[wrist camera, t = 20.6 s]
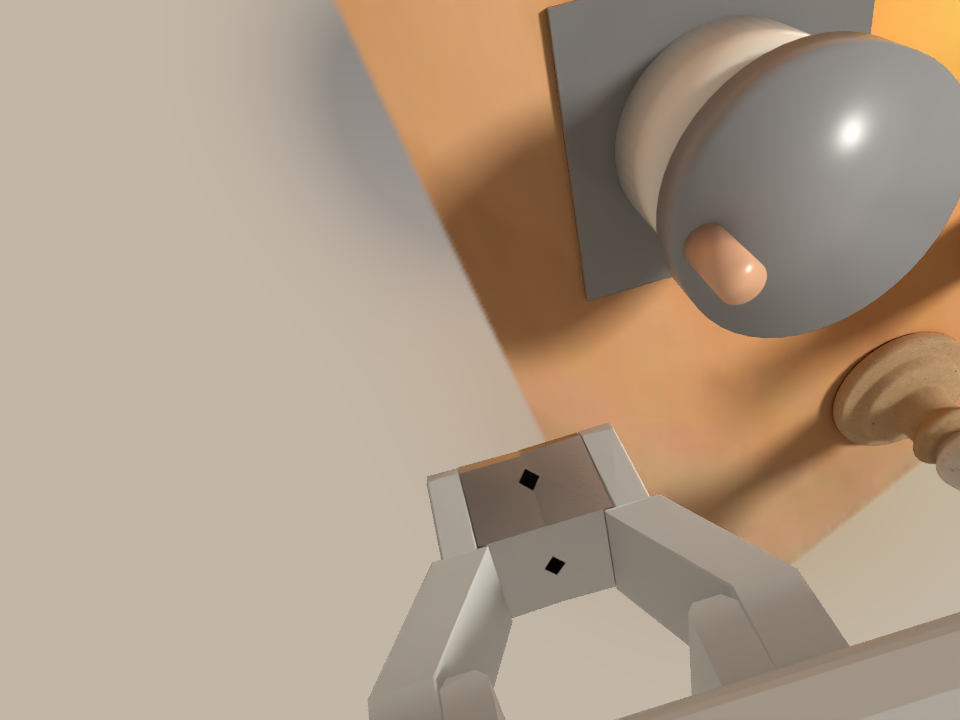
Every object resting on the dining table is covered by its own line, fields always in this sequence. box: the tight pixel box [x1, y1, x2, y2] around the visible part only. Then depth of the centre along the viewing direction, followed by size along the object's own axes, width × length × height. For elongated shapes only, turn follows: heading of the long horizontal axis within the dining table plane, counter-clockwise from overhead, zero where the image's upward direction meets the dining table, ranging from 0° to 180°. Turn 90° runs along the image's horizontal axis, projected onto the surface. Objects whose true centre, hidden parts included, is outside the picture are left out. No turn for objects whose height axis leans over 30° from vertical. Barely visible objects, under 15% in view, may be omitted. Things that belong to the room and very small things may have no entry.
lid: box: [656, 31, 960, 338], centre depth 37 cm, size 16×16×7 cm
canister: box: [546, 0, 875, 301], centre depth 44 cm, size 20×20×9 cm
